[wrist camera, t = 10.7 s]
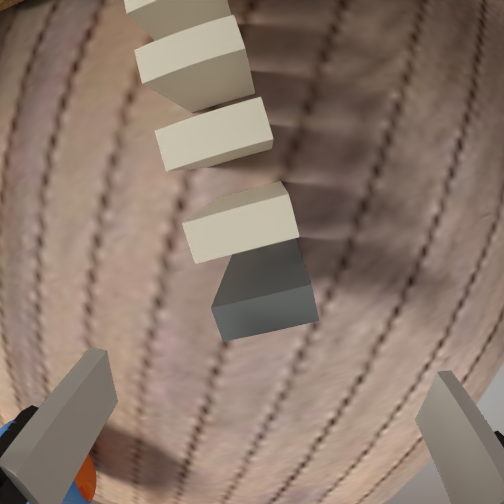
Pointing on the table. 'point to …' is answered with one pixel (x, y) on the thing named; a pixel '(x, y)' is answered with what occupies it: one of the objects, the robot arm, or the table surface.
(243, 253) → the domino
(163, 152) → the domino
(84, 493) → the treat dispenser ball
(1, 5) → the potato
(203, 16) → the domino
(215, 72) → the domino
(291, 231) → the domino
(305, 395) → the table surface
